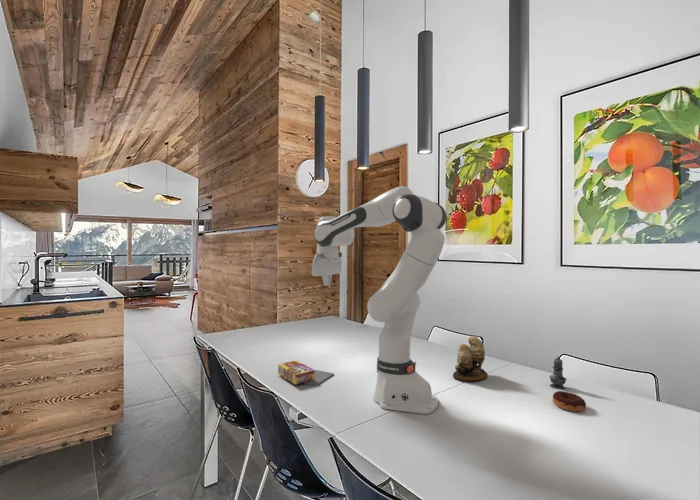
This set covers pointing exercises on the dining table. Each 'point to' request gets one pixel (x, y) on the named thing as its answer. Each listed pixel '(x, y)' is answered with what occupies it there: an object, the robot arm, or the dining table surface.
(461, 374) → the owl figurine
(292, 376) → the candy box
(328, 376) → the mat
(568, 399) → the donut
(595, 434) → the dining table surface
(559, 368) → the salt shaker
